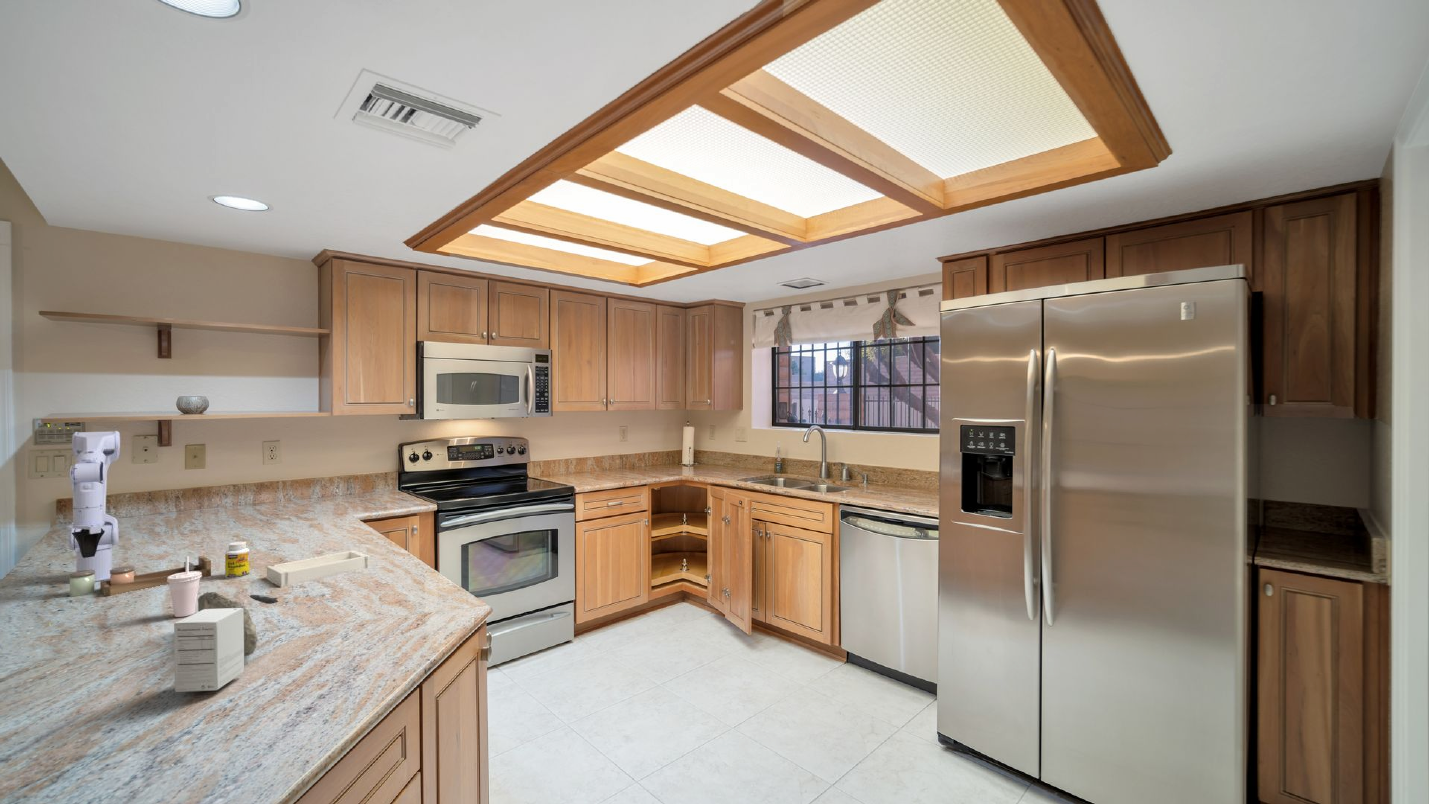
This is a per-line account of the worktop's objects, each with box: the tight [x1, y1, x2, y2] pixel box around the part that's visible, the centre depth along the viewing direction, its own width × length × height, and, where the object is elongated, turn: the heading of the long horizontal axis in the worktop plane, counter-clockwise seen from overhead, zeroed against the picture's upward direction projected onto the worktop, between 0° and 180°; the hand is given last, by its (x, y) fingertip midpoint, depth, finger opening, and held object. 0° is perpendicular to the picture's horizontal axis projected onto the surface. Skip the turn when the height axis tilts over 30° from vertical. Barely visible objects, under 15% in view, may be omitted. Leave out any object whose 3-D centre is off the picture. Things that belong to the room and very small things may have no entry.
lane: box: [99, 555, 212, 598], centre depth 169 cm, size 9×22×5 cm, turn 143°
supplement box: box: [173, 608, 245, 693], centre depth 110 cm, size 7×7×13 cm
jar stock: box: [109, 565, 135, 586], centre depth 163 cm, size 5×5×6 cm
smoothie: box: [167, 555, 202, 618], centre depth 145 cm, size 6×6×14 cm
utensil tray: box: [266, 549, 371, 588], centre depth 178 cm, size 12×23×4 cm, turn 143°
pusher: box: [183, 561, 196, 572], centre depth 175 cm, size 6×2×4 cm, turn 53°
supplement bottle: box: [224, 541, 250, 580], centre depth 175 cm, size 6×6×10 cm
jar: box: [68, 570, 96, 598], centre depth 160 cm, size 5×5×6 cm
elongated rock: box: [197, 591, 259, 657], centre depth 127 cm, size 35×5×10 cm, turn 55°
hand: (88, 556), depth 161 cm, fingers closed
